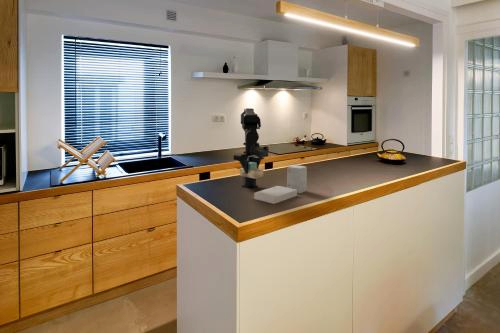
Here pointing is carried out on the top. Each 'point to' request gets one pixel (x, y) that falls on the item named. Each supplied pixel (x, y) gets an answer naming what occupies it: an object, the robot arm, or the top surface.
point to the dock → (275, 194)
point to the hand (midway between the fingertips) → (251, 172)
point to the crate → (252, 166)
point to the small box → (297, 178)
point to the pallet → (252, 173)
